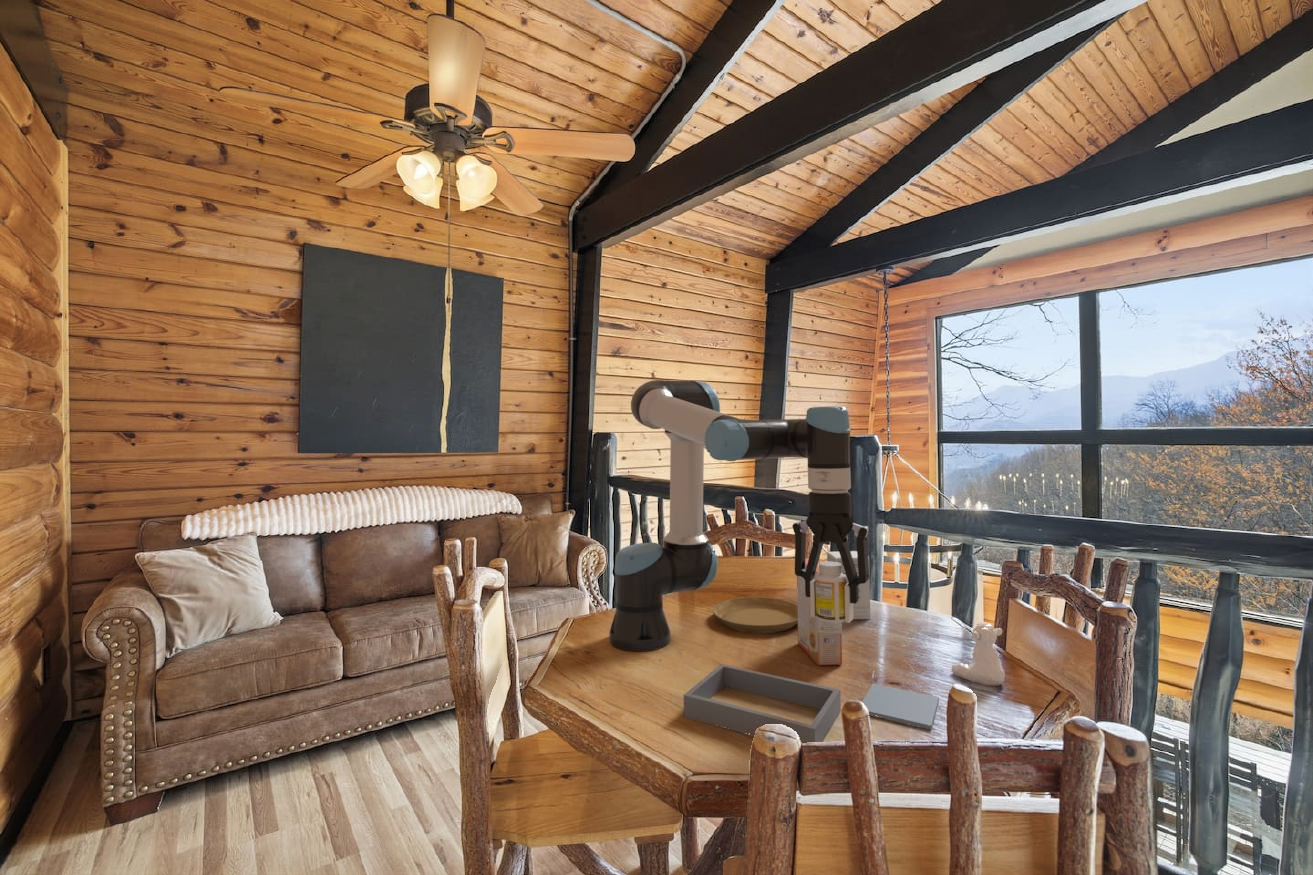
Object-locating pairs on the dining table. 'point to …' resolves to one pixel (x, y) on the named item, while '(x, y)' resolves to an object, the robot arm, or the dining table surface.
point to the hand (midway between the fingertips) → (831, 617)
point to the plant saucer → (757, 614)
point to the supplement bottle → (830, 592)
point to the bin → (766, 685)
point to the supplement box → (863, 605)
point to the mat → (901, 706)
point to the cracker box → (817, 630)
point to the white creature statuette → (983, 658)
